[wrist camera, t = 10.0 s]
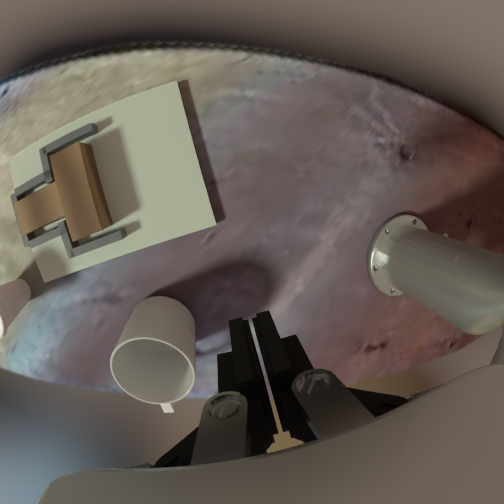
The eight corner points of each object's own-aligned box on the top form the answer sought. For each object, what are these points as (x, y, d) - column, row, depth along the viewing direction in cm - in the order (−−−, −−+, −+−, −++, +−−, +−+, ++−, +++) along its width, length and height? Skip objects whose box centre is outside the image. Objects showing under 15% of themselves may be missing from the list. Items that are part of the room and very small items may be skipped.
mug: (125, 294, 34) (99, 338, 23) (191, 289, 35) (187, 333, 25) (144, 368, 37) (132, 422, 26) (203, 365, 38) (206, 420, 28)
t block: (92, 145, 28) (78, 141, 24) (113, 224, 30) (102, 230, 27) (25, 179, 27) (8, 180, 23) (45, 251, 29) (30, 259, 26)
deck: (177, 83, 29) (175, 74, 26) (216, 223, 34) (217, 227, 31) (13, 158, 26) (0, 158, 23) (48, 280, 31) (37, 288, 28)
